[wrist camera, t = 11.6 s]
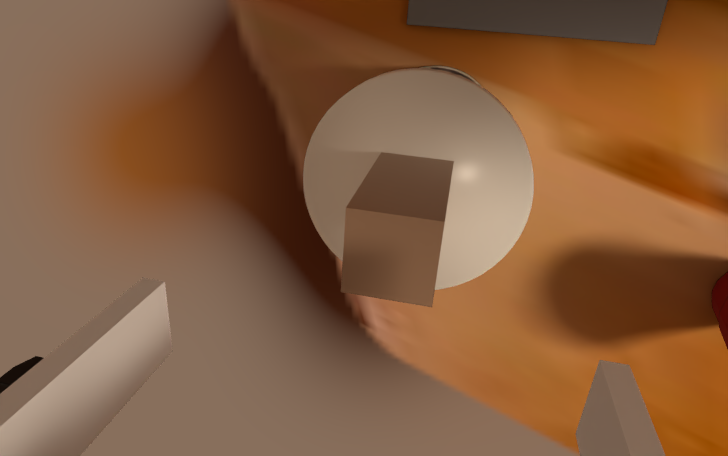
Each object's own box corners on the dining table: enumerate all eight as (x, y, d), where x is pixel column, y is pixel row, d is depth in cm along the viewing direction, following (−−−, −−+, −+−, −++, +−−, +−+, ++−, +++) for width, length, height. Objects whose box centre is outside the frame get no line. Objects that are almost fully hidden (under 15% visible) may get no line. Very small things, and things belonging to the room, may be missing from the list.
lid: (554, 80, 26) (593, 120, 17) (507, 293, 32) (519, 408, 23) (313, 56, 28) (237, 82, 19) (308, 261, 34) (246, 355, 25)
